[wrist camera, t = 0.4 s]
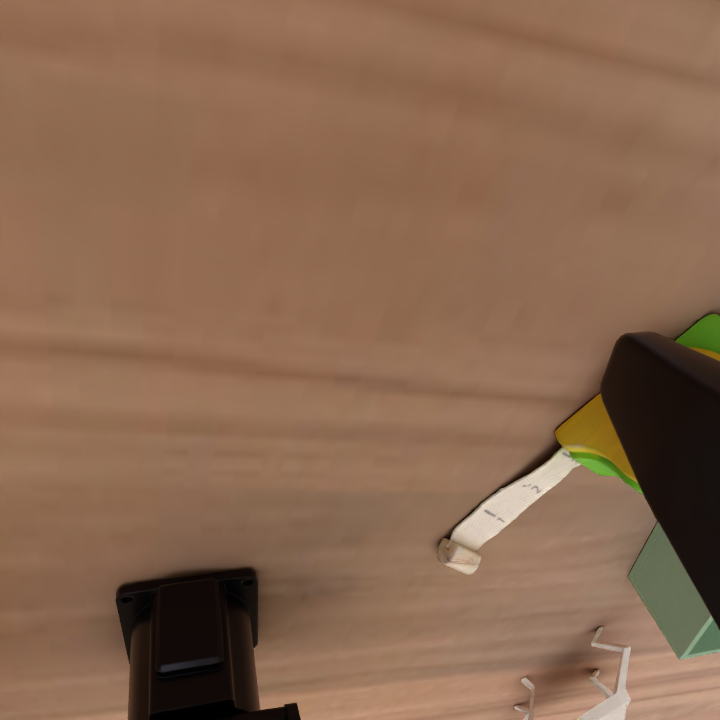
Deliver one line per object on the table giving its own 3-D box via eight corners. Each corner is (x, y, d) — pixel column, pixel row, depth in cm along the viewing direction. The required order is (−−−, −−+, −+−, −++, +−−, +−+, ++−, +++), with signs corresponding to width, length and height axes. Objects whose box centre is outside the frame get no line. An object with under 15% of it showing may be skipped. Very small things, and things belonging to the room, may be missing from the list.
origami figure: (596, 694, 52) (630, 761, 48) (496, 716, 50) (522, 787, 47) (646, 605, 45) (690, 677, 41) (530, 627, 43) (565, 704, 39)
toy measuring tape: (788, 326, 31) (909, 423, 26) (479, 566, 37) (529, 681, 32) (731, 254, 27) (859, 349, 22) (402, 532, 34) (443, 655, 29)
